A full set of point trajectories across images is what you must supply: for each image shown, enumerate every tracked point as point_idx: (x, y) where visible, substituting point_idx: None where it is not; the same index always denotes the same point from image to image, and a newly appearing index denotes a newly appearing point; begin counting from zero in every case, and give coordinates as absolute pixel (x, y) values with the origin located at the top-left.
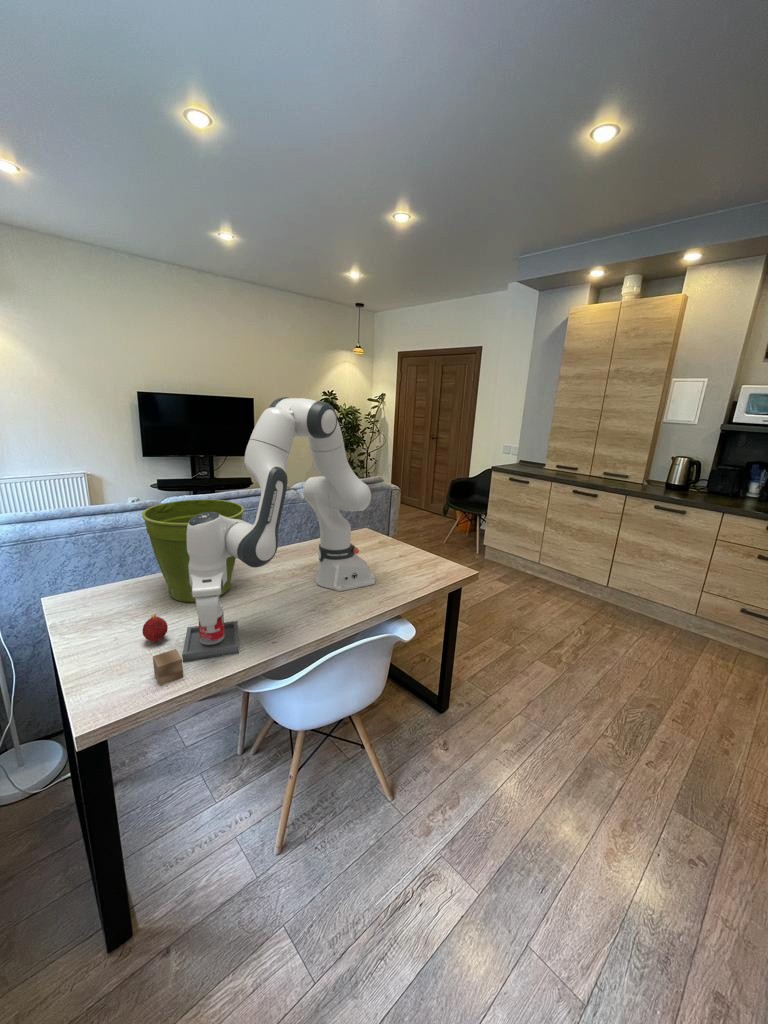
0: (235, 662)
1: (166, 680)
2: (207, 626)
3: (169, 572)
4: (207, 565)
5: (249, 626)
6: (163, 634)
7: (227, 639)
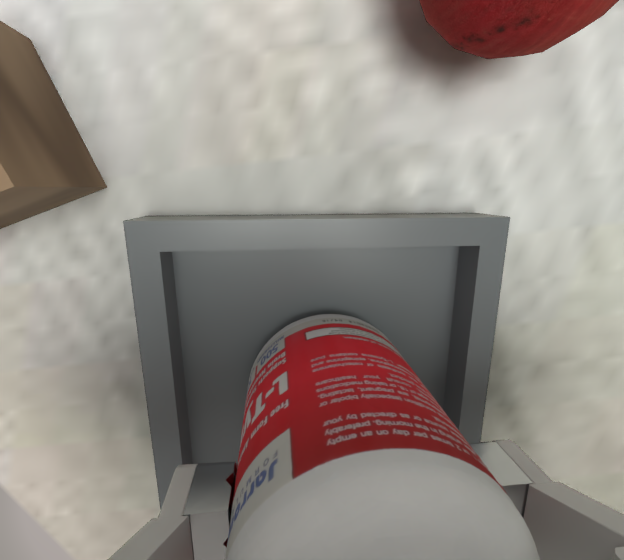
0: (96, 492)
1: None
2: (141, 537)
3: None
4: None
5: None
6: (441, 31)
7: None
